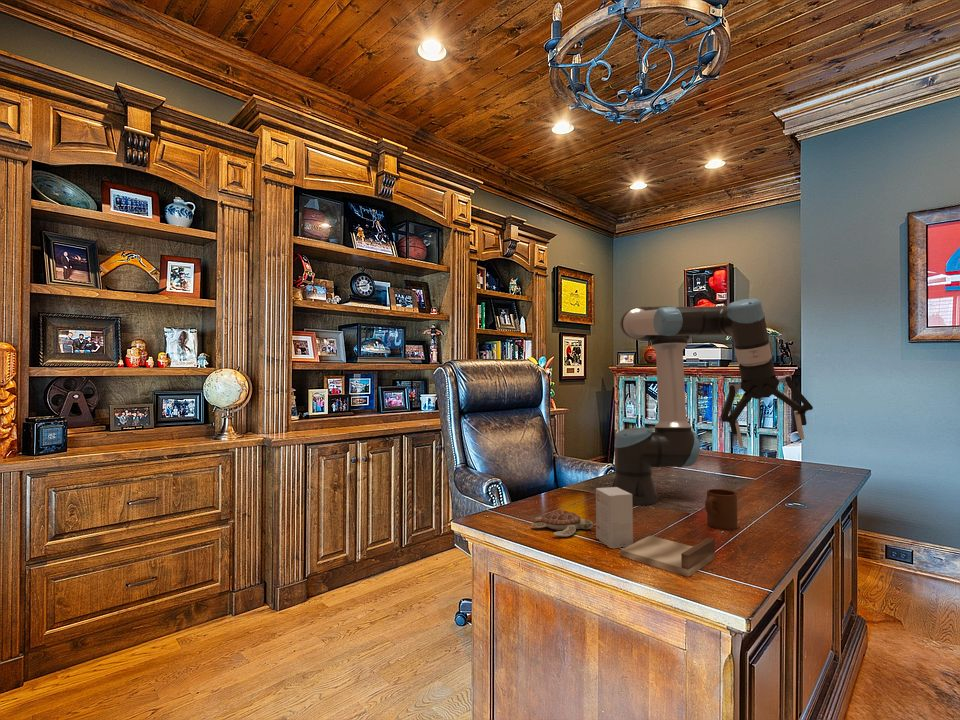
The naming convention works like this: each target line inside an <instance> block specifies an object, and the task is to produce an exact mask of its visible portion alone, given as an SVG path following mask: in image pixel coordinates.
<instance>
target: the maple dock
mask: <svg viewBox="0 0 960 720" xmlns="http://www.w3.org/2000/svg"><path fill="white" fill-rule="evenodd" d="M715 541H716V539H715V538H711V537H707V538H705V539H703V540H701V541H700V542H698V543H697V544H695V545H693V546H692V545H688V544H684V543H680V542H676V541H673V540H669V539H664V538H662V537H657V536H653V535H648V536H646V537H644V538H642V539H640V540H638V541H636V542H633V544H632V545H630V546H628V547H623V548H622V549H620V557H621V556H623V557H622V558H625V557H627V558H626V559H628V558H629V559H628V560H631V559H632V561H635V560H636V561H635V562H638V561H639V563H641V562H642V563H641V564H644V563H645V564H644V565H648V564H649V565H648V566H651V567H654V566H655V567H654V568H657V569H660V570H661V569H662V570H664V571H667V572H671V573H674V574H676V575H677V574H678V575H682V576H684V577H687V578H688V577H690V576H692V575H694V574H695V573H697V572H698V571H700V569H701V570H702V568H704V567H706V566H707V565H709V563H711V562H713V560H716V542H715ZM693 573H694V574H693Z"/></svg>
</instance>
